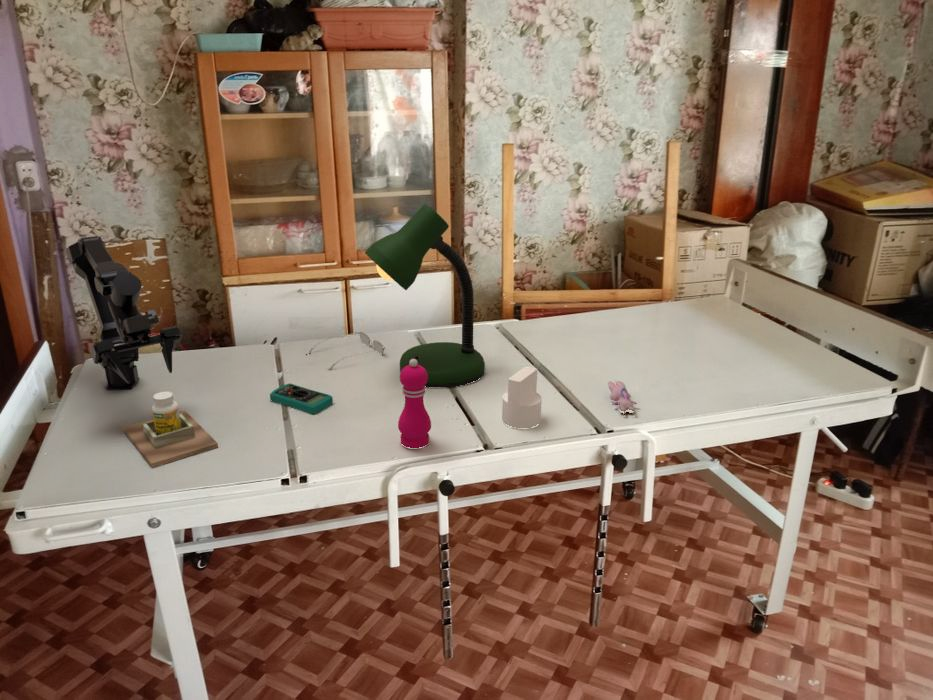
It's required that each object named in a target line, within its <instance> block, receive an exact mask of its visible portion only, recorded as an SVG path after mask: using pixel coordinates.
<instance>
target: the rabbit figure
mask: <svg viewBox="0 0 933 700" xmlns="http://www.w3.org/2000/svg"><path fill="white" fill-rule="evenodd" d="M607 385H608V389H609V390H610V391H611V393H610V394H609V395H610V396H609V399H610V400H611V401H612V400H614V401H615V402H614V401H612V402H611V406H614V405H615V404H619V406H618V408H619V409H620V410H621V411H624V414H625V411H626V410H628V409H629V410H632V411H634V413H635V414H636V411H635V407H634V405H638V402H637V401H633V400H631V398H632V397H631V394H630V393H629V392H628V390H627V387H626V385H625V383H624V382H623V381H620V380H615V383H614V381H608V382H607ZM619 409H618V410H619ZM634 413H633V414H634ZM624 414H623V415H624ZM625 415H626V414H625Z"/></svg>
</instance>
